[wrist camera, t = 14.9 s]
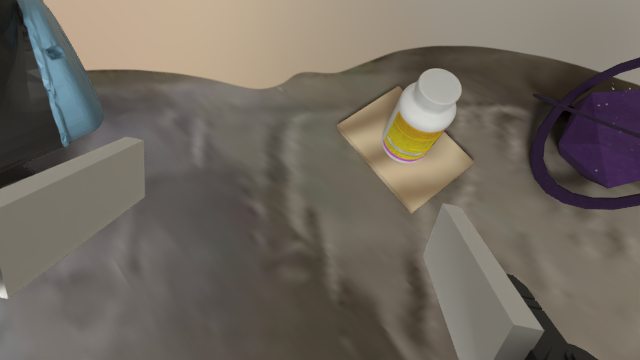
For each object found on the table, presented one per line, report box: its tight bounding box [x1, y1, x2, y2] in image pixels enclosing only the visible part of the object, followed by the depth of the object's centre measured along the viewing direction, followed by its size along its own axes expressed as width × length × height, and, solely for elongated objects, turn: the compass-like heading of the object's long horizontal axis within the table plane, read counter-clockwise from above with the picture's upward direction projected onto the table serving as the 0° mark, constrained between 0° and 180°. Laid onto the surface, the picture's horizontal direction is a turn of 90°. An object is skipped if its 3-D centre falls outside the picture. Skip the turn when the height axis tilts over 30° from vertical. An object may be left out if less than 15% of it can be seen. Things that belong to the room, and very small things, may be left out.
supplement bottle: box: [382, 68, 462, 163], centre depth 41 cm, size 7×7×13 cm
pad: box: [337, 86, 475, 213], centre depth 47 cm, size 16×12×1 cm
